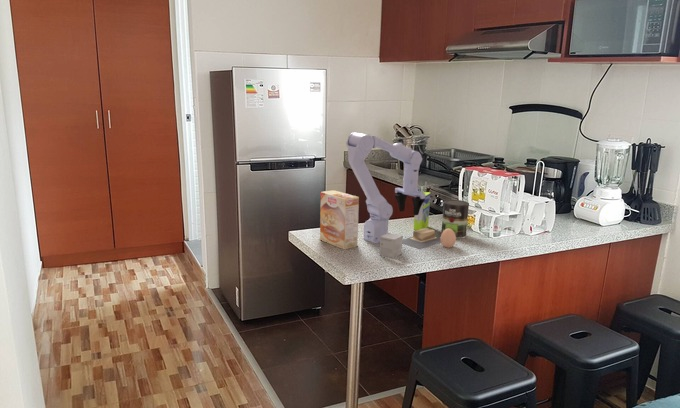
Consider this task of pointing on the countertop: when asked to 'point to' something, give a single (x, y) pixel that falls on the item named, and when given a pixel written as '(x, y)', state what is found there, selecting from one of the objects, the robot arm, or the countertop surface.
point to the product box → (390, 245)
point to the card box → (423, 234)
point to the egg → (448, 238)
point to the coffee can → (455, 217)
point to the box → (423, 213)
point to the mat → (421, 242)
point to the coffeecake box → (339, 219)
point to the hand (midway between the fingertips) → (408, 212)
